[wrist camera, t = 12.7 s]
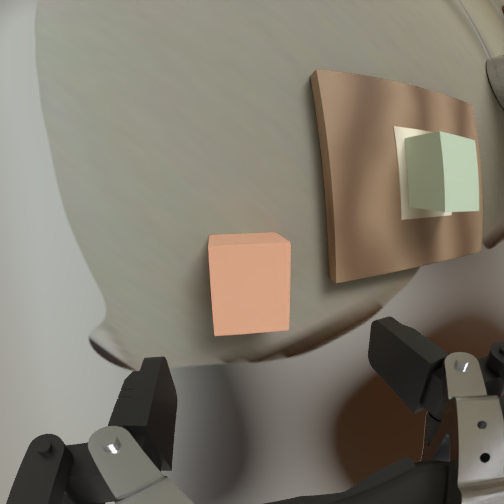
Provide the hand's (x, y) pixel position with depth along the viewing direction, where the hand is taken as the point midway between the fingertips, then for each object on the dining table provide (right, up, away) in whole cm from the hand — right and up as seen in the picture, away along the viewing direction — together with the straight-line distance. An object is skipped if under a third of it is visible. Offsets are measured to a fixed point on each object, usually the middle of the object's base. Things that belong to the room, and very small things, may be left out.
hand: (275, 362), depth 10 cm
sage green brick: (+15, +11, +11) cm, 21 cm away
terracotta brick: (-2, +3, +12) cm, 12 cm away
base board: (+15, +11, +12) cm, 22 cm away
